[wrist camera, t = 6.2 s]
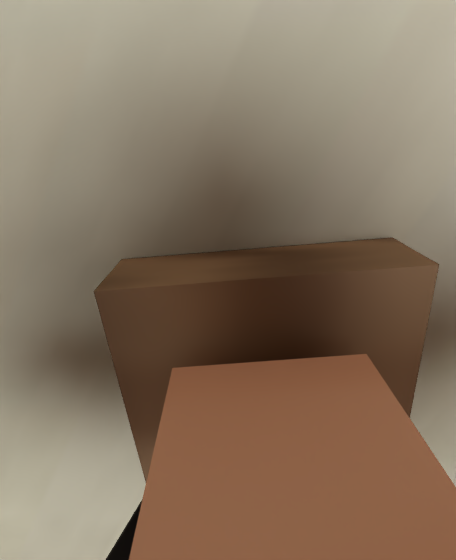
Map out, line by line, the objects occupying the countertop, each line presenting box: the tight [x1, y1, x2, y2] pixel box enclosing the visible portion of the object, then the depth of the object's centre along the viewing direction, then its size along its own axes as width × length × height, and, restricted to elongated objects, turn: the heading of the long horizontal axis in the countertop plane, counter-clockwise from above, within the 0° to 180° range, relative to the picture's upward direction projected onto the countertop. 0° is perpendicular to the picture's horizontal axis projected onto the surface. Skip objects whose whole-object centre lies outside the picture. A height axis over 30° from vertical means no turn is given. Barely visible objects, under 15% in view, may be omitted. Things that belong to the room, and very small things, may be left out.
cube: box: [129, 354, 456, 560], centre depth 7 cm, size 5×5×5 cm
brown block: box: [94, 238, 439, 482], centre depth 11 cm, size 9×9×2 cm
